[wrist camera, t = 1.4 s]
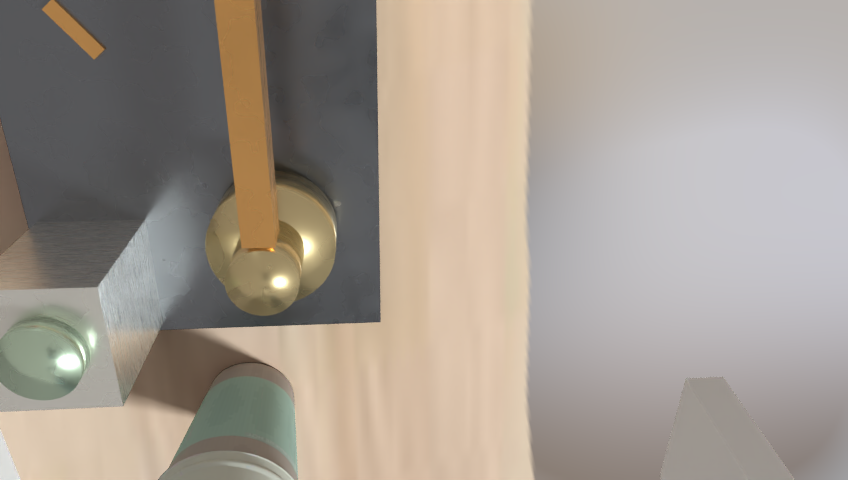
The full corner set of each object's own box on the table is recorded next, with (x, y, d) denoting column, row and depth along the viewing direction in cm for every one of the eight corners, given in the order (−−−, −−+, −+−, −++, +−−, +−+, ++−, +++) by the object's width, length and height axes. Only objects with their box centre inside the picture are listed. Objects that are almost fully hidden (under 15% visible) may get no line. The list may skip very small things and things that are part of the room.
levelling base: (379, 306, 45) (386, 416, 35) (68, 316, 43) (-20, 436, 33) (375, -12, 37) (382, 13, 26) (-13, -15, 35) (-164, 10, 25)
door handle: (339, 277, 41) (336, 341, 35) (222, 280, 41) (198, 346, 34) (323, -96, 33) (315, -100, 26) (174, -99, 32) (130, -104, 26)
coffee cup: (215, 454, 49) (176, 605, 38) (170, 362, 45) (112, 499, 35) (328, 427, 49) (321, 570, 38) (292, 332, 45) (272, 460, 34)
